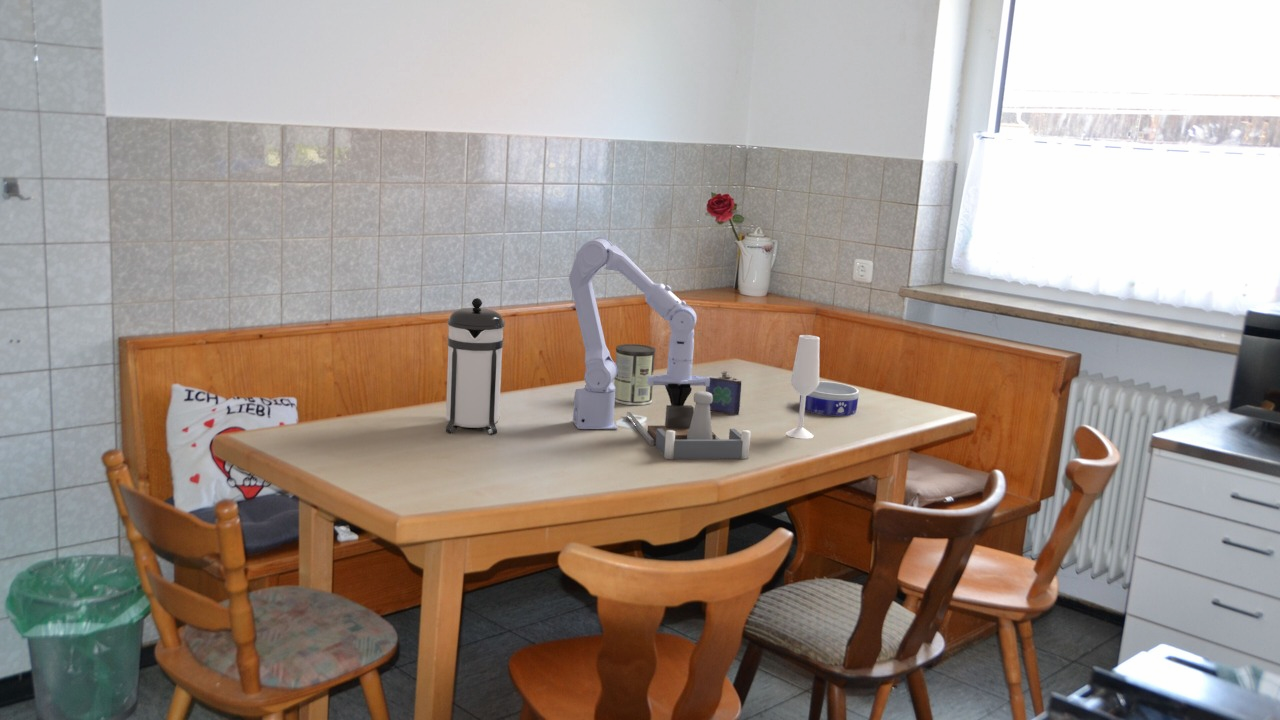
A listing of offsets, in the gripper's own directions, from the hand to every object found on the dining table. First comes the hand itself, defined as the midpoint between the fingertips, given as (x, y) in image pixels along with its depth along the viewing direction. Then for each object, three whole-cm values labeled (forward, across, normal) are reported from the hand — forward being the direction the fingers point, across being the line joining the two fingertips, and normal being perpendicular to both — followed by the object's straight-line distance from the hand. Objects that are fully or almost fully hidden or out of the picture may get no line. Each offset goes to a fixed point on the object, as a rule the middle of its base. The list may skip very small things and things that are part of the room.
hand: (676, 415), depth 257 cm
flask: (+5, +18, +20) cm, 27 cm away
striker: (+4, 0, -5) cm, 7 cm away
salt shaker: (+5, +2, -12) cm, 13 cm away
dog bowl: (+5, +49, +24) cm, 55 cm away
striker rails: (+4, 0, +3) cm, 5 cm away
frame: (+4, +2, -15) cm, 16 cm away
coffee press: (+5, -47, +6) cm, 48 cm away
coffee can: (+5, -3, +31) cm, 31 cm away
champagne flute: (+5, +31, -1) cm, 31 cm away
